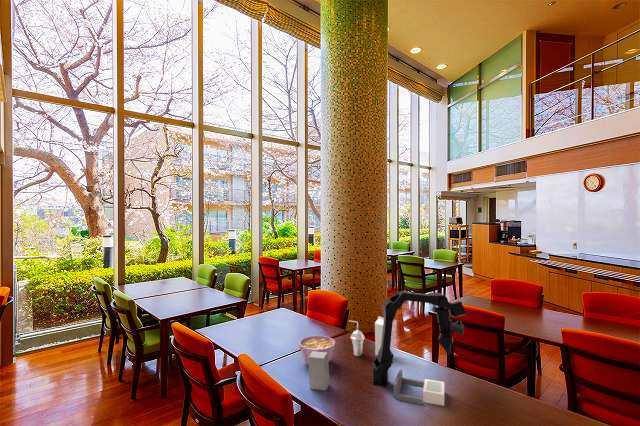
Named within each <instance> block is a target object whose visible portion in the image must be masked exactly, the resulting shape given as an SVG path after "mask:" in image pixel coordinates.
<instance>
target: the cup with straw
mask: <svg viewBox="0 0 640 426" xmlns="http://www.w3.org/2000/svg"><path fill="white" fill-rule="evenodd" d="M348 322H351V323H356V330H354V331H353V332H352V333H351V335H350V337H349V338H350V339H351V342H352V349H353V350H352V351H353V355H354V356H356V357H361V356H363V355H362V354H363V345H364V340H365V339H366V337H365V335H364V334H363V332H362V331H361V330H359V322H358V321H356V320H350V319H348Z"/></svg>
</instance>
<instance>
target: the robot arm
mask: <svg viewBox="0 0 640 426" xmlns="http://www.w3.org/2000/svg"><path fill="white" fill-rule="evenodd" d="M406 302H416V303H417V302H418V303H424V304H425V303H426V304H431V305H433V307H432V308H431V312H433V313H435V314H436V317H437V325H438V327H439V336H438V340H437V341H438V344H439V345H440V346H441V347H442V348H443V350H444V351H445V352H446V354H447V355H448V356H450V355H451V353H452V351H451V347H452V345H453V344H454V338H453V334H457V335H460V336H463V335H464V331H465V325H464V324H463V323H462V320H457V321H455V322H453V321H452V319H451V317H452V318H456V317H462V316H465V315H466V309H465V306H464V305H463V302H462V301H460V300H457V301H455V302H450V301H449V299H448V297H447V296H446V295H444V294H443V293H440V292H431V293H420V292H412V291H404V290H400V291H399V292H398V293H396V294H394V295H392V296H391V297H389V298H388V299H385V300H384V301H382V304H381V306H382V315H383V318H384V323H383V332H382V342H381V347H380V349H379V351H378V355H376V358H375V359H374V360H373V361H372V365H373V367H374V368H373V371H372V372H373V373H372V374H373V375H372V378H373V381H372V385H375V386H381V387H387V385H388V384H389V379H390V377H389V375H390V374H389V369H390V368H392V365H393V364H394V361H393V359H394V354H393V352H392V350H391V343H392V334H393V323H394V322H393V321H394V319H395V318H396V315H397V311H398V310H399V309H400V308H401V307H402V305H403V304H404V303H406Z"/></svg>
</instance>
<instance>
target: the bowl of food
mask: <svg viewBox="0 0 640 426" xmlns="http://www.w3.org/2000/svg"><path fill="white" fill-rule="evenodd" d="M335 345H336V341H335V339H334V338H332V337H330V336H326V335H310V336H306V337H303V338H302V339H300V340H299V348H300V352H301V357H302V359H303V361H304V362H305V363H306V364H308V356H309V355H310V354H311V352H312V351H316V352H327V353H328V363H329V362H330V361H332V357H333V354H334V352H335V347H336V346H335Z"/></svg>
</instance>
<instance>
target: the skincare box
mask: <svg viewBox="0 0 640 426" xmlns="http://www.w3.org/2000/svg"><path fill="white" fill-rule="evenodd" d="M307 364H308V377H309V388H310V389H311V390H320V391H324V392H325V391H327V389H328V387H329V385H330V368H329V362H328V353H327V352H316V351H312V352H311V354H310V355H309V356H308V363H307Z"/></svg>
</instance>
